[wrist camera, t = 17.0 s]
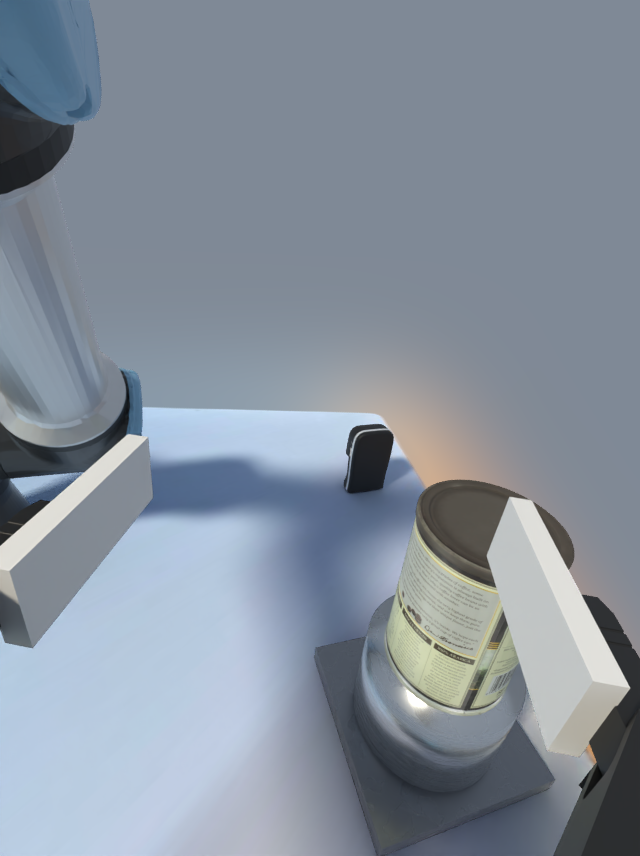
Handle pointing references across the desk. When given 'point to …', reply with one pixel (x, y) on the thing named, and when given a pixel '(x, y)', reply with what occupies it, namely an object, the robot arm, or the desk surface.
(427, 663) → the coffee can
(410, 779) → the door knob
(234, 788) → the desk surface
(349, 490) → the battery charger
